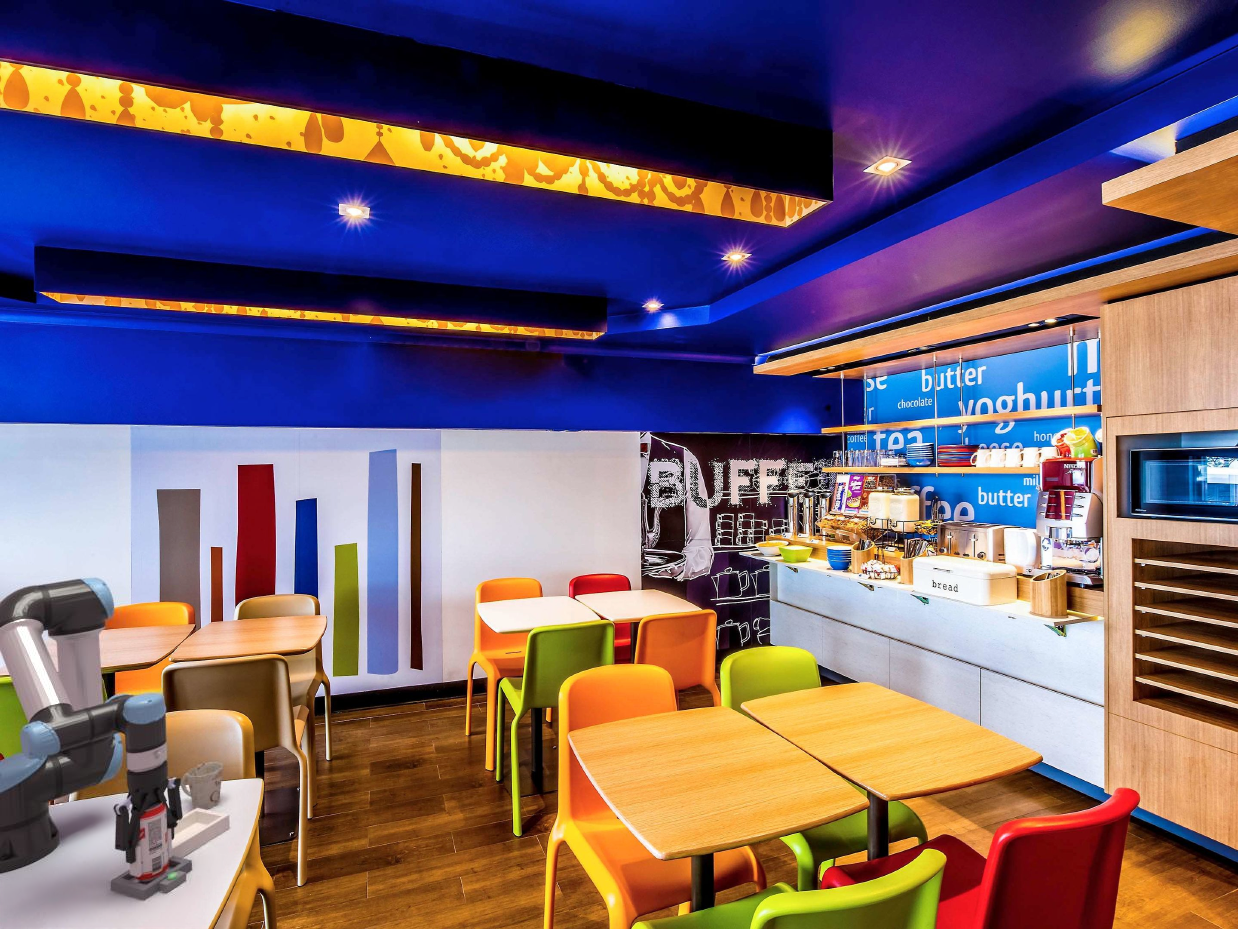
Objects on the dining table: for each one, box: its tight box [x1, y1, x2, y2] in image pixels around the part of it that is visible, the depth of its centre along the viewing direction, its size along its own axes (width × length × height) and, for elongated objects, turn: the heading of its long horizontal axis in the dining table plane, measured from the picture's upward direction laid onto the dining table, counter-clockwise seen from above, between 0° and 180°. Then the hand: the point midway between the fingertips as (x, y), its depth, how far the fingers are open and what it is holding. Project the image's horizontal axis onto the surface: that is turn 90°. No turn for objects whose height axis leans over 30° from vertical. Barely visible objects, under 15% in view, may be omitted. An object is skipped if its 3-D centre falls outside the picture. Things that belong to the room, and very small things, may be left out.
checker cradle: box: [109, 856, 193, 901], centre depth 147 cm, size 13×11×2 cm
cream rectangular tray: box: [172, 808, 231, 858], centre depth 162 cm, size 11×15×4 cm
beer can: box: [135, 802, 169, 882], centre depth 147 cm, size 6×6×16 cm
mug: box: [180, 761, 224, 810], centre depth 179 cm, size 8×13×10 cm, turn 78°
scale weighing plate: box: [130, 866, 173, 885], centre depth 147 cm, size 7×7×1 cm
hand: (151, 865), depth 147 cm, fingers closed on beer can, 6 cm apart
